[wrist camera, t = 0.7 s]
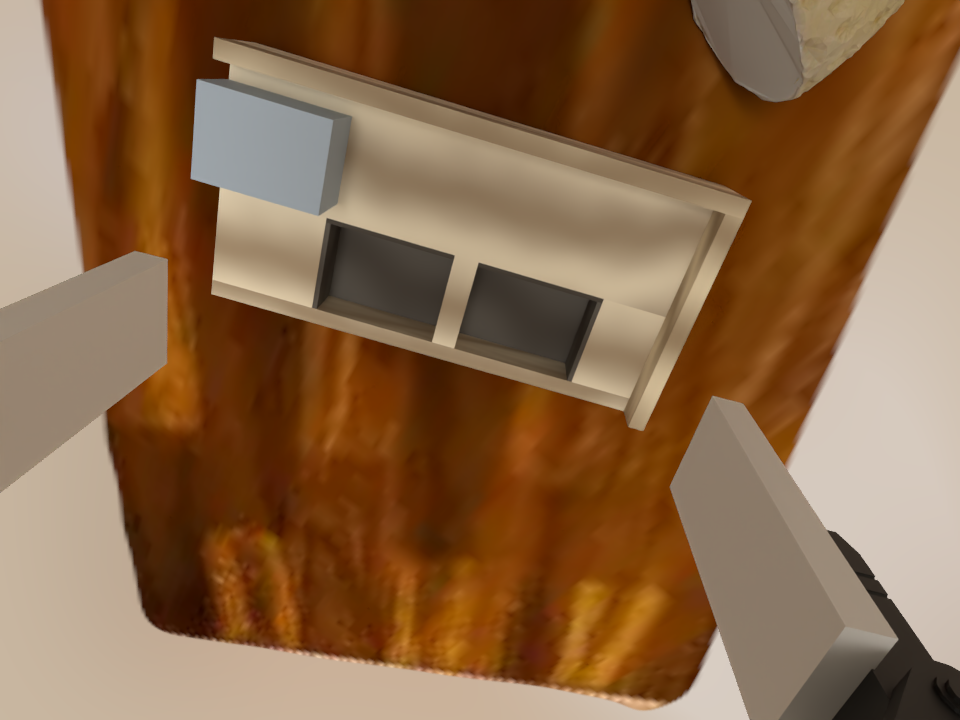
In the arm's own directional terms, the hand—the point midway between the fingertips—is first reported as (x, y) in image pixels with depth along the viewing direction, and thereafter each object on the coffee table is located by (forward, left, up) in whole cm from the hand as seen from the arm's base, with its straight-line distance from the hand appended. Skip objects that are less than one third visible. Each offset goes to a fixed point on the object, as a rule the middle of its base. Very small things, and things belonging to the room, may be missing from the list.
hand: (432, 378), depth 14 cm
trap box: (+3, -1, -26) cm, 26 cm away
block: (0, -12, -23) cm, 26 cm away
